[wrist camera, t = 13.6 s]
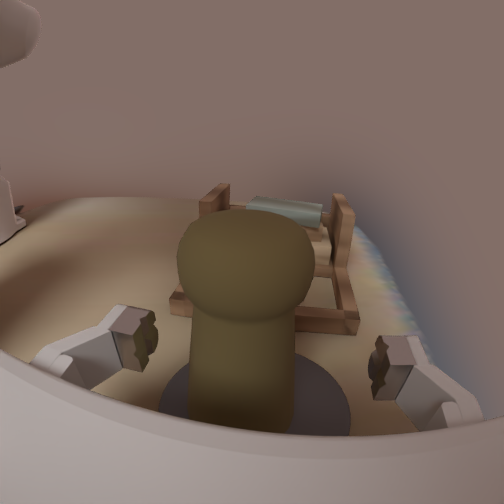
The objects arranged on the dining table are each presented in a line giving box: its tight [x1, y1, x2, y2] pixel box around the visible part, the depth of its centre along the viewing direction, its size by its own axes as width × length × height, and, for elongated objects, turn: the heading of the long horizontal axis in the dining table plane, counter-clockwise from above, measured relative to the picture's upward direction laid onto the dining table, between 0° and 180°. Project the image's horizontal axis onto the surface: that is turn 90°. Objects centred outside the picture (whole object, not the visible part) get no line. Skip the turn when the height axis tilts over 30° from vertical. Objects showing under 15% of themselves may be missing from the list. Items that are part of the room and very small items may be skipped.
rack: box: [169, 184, 360, 335], centre depth 29 cm, size 18×15×7 cm
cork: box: [177, 209, 316, 434], centre depth 13 cm, size 6×6×11 cm
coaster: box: [159, 353, 350, 436], centre depth 15 cm, size 11×11×1 cm
